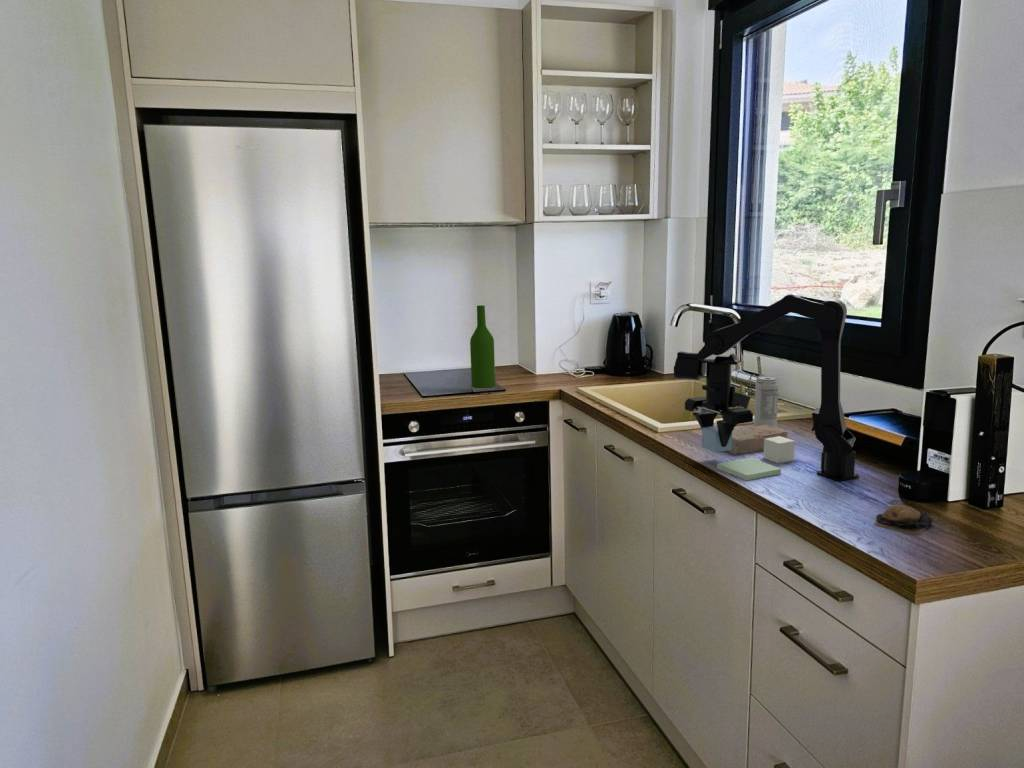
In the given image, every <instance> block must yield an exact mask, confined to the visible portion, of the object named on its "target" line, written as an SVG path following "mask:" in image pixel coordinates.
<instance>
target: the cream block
mask: <svg viewBox="0 0 1024 768" xmlns="http://www.w3.org/2000/svg"><path fill="white" fill-rule="evenodd" d="M795 447H796V441H795V440H794V439H790V438H788V437H787V438H784V437H781V436H778V437H772V438H766V439H764V450H763V459H766V460H768V461H771V462H774V463H777V464H780V463H785V462H786V463H787V462H792V461H795Z"/></svg>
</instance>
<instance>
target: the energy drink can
mask: <svg viewBox="0 0 1024 768" xmlns="http://www.w3.org/2000/svg"><path fill="white" fill-rule="evenodd" d="M754 391H755V393H754V412H753V427H755V426H760V425H768V426H772V427H777V425H778V424H777V421H778V419H777V418H778V402H779V401H778V400H779V399H778V396H779V383H778V381H777V377H775V376H759V377H757V380H756V382H755V389H754Z"/></svg>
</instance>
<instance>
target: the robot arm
mask: <svg viewBox="0 0 1024 768" xmlns="http://www.w3.org/2000/svg"><path fill="white" fill-rule="evenodd" d="M791 313H794V314H796V315H800V316H802V317H805V318H808V319H811V320H815V323H816V328H817V332H818V336H819V339H820V343H821V344H820V347H821V349H820V352H821V353H820V357H821V358H820V360H821V361H820V363H821V364H820V374H821V375H820V383H821V384H820V391H821V392H820V407H819V408H818V407H816V408H814V410H813V412H812V413H811V415H812V416H811V417H812V422H813V423H812V424H813V425H812V428H811V432H814V436H815V438H816V440H817V441H818V442H819V443H821V444H822V452H821V455H820V456H821V458H820V459H821V460H820V470H817V471H816V474H817V475H819V476H822V477H826V478H827V479H831V480H834V481H837V482H841V481H846V480H851V479H856V478H859V477H860V474H858V473H855V468H856V467H855V466H856V451H854V450H853V446H854V444H855V442H856V439H857V438H856V437H855V435H854V434H853V433H852V432H850V430H848V429H847V425H846V423H847V422H846V418H845V415H844V414H845V413H844V410H843V406H842V403H841V340H842V336H843V332H844V327H845V324H846V319H847V313H848V309H847V306H846V304H845V303H844V302H843V301H842V300H841V299H838V298H830V299H829V298H828V299H827V300H824V299H819V298H814V297H808V296H804V295H799V294H798V293H796V292H795V293H792V292H791V293H789V294H787V295H785V296H783V297H782V298H781V299H779V300H778V301H775V302H774V303H772V304H770V305H768V306H767V307H765V308H763V309H761V310H760V311H757V312H755V313H754V314H752V315H750V316H749V317H746V318H744V319H743V320H741V321H739V322H736V323H733V324H729V325H728V326H724V327H722V328H721V327H720V328H719V329H715V330H714V331H712V332H709V333H708V334H706V336H705V339H704V346H702V348H701V349H700V350H699V351H698V352H687V351H683V350H682V351H678V352H677V355H676V359H675V362H674V365H673V375H674V378H675V379H676V380H687V381H688V380H689V381H700V380H701V378H702V377H705V378H706V379H705V384H702V385H701V389H702V390H703V391H705V397H704V396H698V397H697V396H696V397H689V398H687V399H686V400H685V401H684V410H685V411H688V412H693V413H692V415H693V416H694V417H695V419H696V421H697V423H698V424H699V427H700V428H701V430H702V428H704V427H710V426H715V425H714V424H715V422H716V426H717V427H718V432H719V437H720V442H721V445H722V447H726V446H727V443H728V441H729V438H730V436H731V434H732V431H733V430H735V428H736V426H737V425H739V424H740V425H741V424H747V423H752V422H753V423H754V412H753V411H752V410H751V409H748V407H749V405H750V401H751V396H749V395H747V394H746V395H745V394H743V393H739V392H737V391H736V387H735V386H734V385H732V384H731V383H732V365H733V366H734V365H735V366H736V365H738V364H739V363H741V360H740V359H739V358H738V357H737V356H736V355H735V353H733V352H732V353H730V355H729V356H725V355H724V356H723V354H725V353H726V352H727V353H728V351H730V350H732V349H733V348H734V347H735V346H736V345H738V344H739V343H740V342H741V341H743V340H744V339H745V338H746V337H748V336H749V335H751V334H753V333H754V332H756V331H759V330H760V329H763V328H764V327H766V326H767V325H769V324H772V323H774V322H775V321H777V320H779V319H780V318H782V317H784V316H786V315H789V314H791ZM713 355H714V356H715V358H714V359H712V358H709V357H711V356H713ZM707 358H708V359H707ZM694 411H695V412H694ZM718 415H721V417H722V419H719V420H715V419H716V417H717V416H718Z"/></svg>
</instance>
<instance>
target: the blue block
mask: <svg viewBox="0 0 1024 768" xmlns="http://www.w3.org/2000/svg"><path fill="white" fill-rule="evenodd" d="M701 448H703V449H706V450H708V451H711V452H713V453H719V452H724V451H726V450H731V449H732V434H731V436H730V438H729V441H728V443H727V446H726V447H722V445H721V442H720V437H719V432H718V427H717V425H714V426H710V427H704V428H702V429H701Z"/></svg>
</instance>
